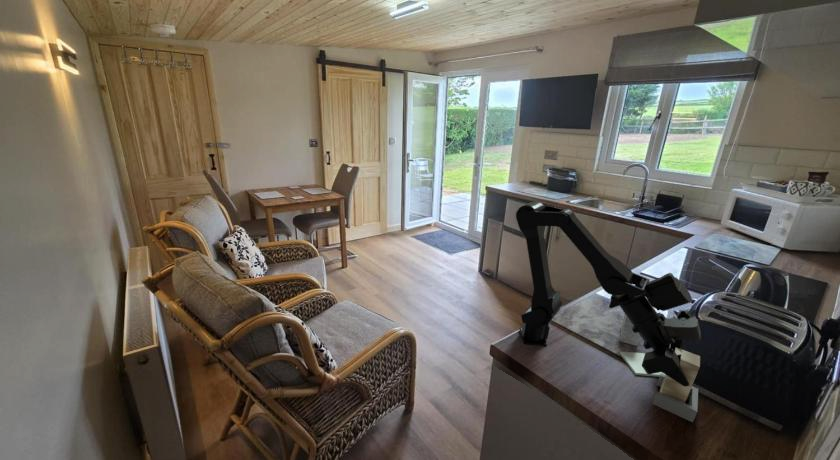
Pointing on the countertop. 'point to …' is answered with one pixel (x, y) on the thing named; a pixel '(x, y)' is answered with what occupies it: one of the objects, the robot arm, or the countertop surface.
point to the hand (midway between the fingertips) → (687, 379)
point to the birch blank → (690, 369)
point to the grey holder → (678, 402)
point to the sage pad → (637, 363)
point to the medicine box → (628, 332)
